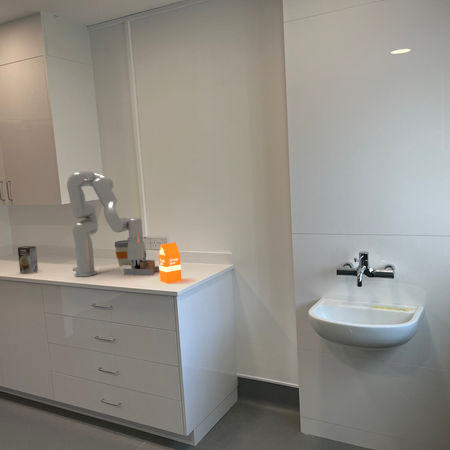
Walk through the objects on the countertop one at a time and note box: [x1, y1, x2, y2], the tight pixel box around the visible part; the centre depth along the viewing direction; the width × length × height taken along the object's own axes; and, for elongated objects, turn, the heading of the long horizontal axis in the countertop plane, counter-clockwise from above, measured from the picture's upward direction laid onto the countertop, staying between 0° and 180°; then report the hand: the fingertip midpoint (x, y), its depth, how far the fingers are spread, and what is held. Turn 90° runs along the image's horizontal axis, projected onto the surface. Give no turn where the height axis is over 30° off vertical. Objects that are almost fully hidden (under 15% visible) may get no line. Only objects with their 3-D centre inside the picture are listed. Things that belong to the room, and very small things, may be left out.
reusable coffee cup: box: [114, 239, 134, 267], centre depth 298 cm, size 13×13×15 cm
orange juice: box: [158, 242, 183, 284], centre depth 246 cm, size 8×9×20 cm
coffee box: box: [17, 245, 39, 274], centre depth 289 cm, size 9×6×16 cm
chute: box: [123, 265, 160, 276], centre depth 266 cm, size 18×9×4 cm, turn 70°
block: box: [140, 259, 156, 274], centre depth 264 cm, size 6×6×7 cm
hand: (138, 271), depth 267 cm, fingers closed
